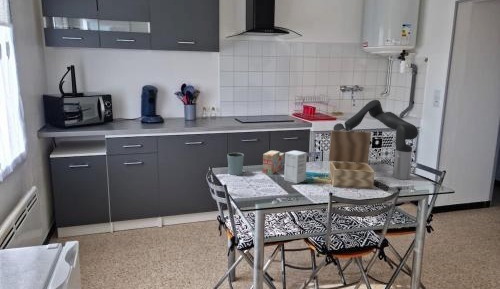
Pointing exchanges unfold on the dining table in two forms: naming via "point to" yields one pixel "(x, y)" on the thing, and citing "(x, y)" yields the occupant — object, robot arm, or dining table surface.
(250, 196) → the dining table surface
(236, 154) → the green cup
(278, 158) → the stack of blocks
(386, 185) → the dining table surface
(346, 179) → the oak box
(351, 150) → the box lid
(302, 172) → the supplement box
